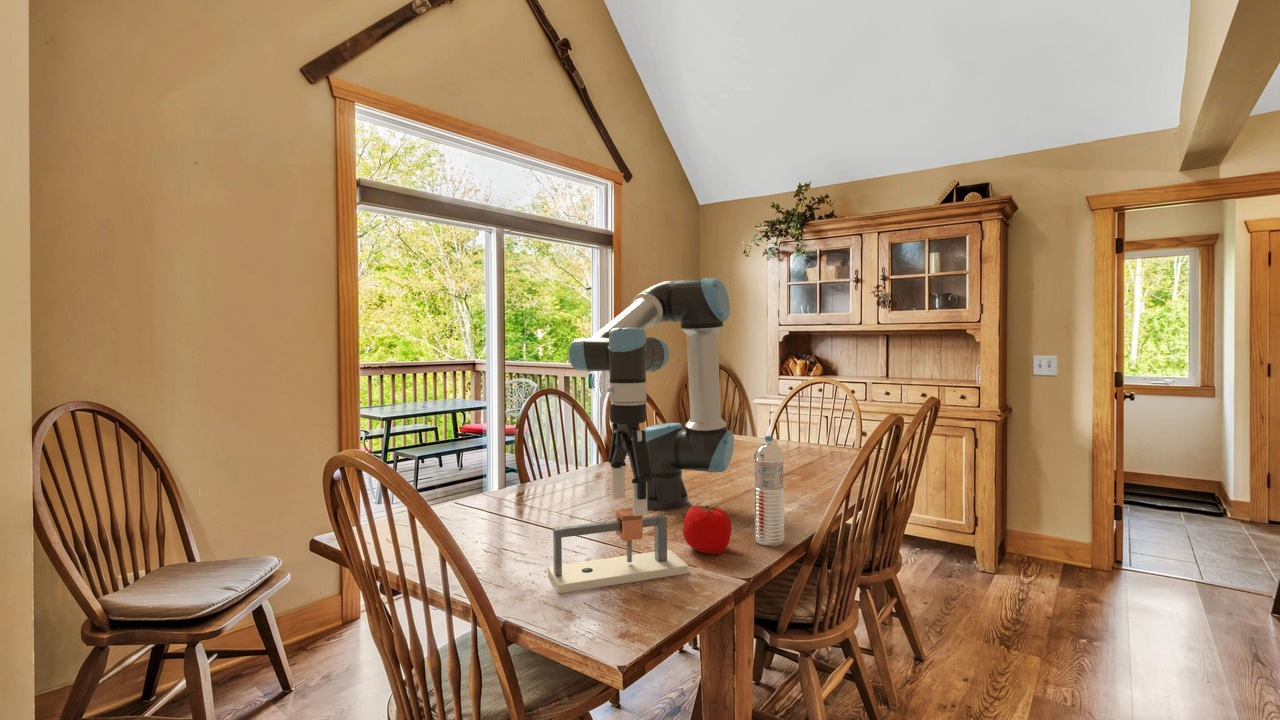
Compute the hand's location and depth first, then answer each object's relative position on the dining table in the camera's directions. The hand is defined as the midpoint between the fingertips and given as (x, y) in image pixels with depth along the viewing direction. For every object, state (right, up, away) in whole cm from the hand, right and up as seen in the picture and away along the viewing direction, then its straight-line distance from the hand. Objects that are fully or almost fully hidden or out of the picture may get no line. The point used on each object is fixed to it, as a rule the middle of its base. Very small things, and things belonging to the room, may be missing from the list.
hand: (628, 506), depth 123 cm
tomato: (+18, -13, +13) cm, 26 cm away
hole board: (-2, -14, 0) cm, 14 cm away
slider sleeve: (0, -12, 0) cm, 11 cm away
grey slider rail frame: (-3, -12, -1) cm, 13 cm away
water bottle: (+33, -13, +18) cm, 39 cm away
